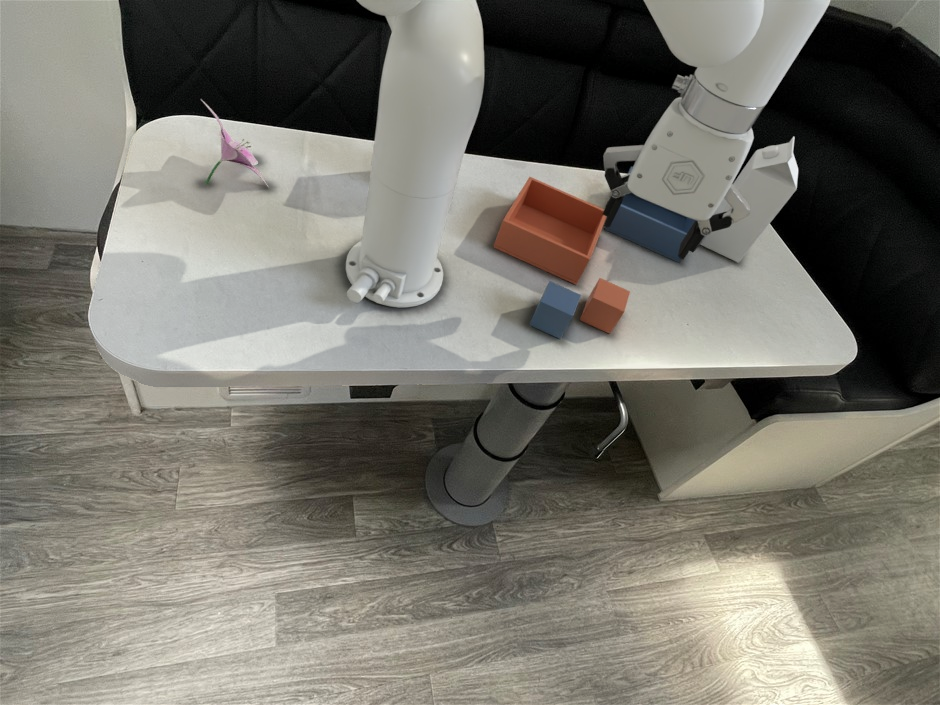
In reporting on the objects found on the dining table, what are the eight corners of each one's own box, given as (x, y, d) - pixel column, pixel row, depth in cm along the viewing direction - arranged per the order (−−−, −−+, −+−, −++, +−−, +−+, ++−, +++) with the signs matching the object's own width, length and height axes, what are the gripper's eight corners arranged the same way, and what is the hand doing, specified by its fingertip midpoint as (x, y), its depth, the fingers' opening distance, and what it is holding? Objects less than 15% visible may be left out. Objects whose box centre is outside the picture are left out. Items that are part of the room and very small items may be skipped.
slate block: (560, 339, 77) (573, 316, 73) (528, 325, 77) (540, 301, 73) (568, 318, 80) (581, 294, 76) (538, 304, 80) (549, 280, 76)
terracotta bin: (576, 285, 84) (590, 259, 81) (493, 247, 85) (502, 220, 81) (595, 236, 93) (608, 211, 89) (519, 202, 94) (529, 176, 90)
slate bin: (679, 262, 94) (695, 239, 90) (603, 229, 95) (616, 204, 91) (688, 220, 103) (703, 197, 99) (618, 190, 104) (631, 166, 100)
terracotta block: (610, 334, 80) (624, 311, 76) (579, 320, 80) (592, 297, 76) (616, 313, 83) (630, 291, 79) (586, 300, 83) (599, 277, 79)
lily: (257, 223, 78) (289, 160, 74) (163, 180, 72) (193, 109, 69) (261, 193, 87) (289, 136, 84) (178, 152, 82) (205, 89, 78)
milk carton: (742, 242, 103) (816, 146, 89) (738, 264, 98) (815, 166, 84) (704, 224, 103) (772, 126, 89) (698, 245, 99) (768, 145, 85)
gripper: (634, 86, 57) (572, 225, 70) (803, 154, 56) (708, 283, 69) (645, 60, 62) (585, 194, 75) (801, 122, 61) (713, 247, 74)
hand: (644, 236), depth 72 cm, fingers open, 9 cm apart
